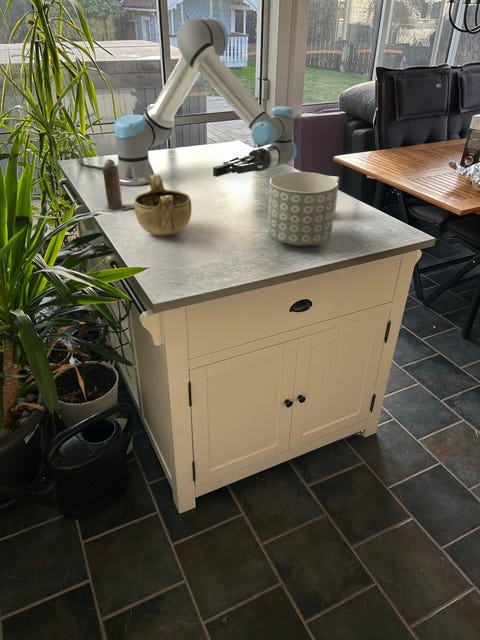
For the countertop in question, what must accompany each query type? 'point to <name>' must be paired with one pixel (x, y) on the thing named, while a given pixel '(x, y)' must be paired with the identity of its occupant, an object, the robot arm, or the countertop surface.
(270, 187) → the planter
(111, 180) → the pepper mill
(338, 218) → the countertop surface
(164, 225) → the ceramic bowl
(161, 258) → the countertop surface
